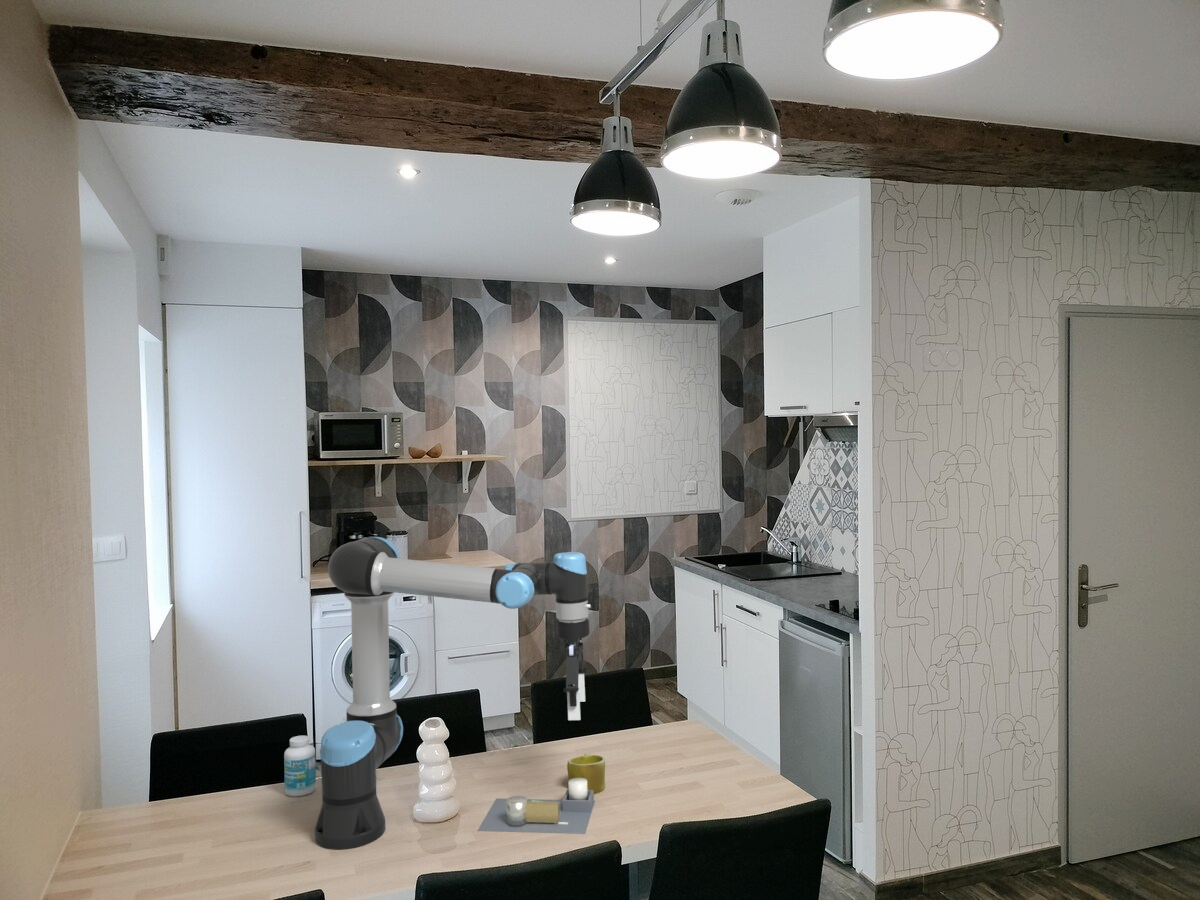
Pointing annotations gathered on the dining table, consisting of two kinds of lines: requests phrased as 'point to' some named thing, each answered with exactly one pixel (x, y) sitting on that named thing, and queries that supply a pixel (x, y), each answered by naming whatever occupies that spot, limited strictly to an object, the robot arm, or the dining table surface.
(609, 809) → the dining table surface
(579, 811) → the board
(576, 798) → the button
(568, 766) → the mug
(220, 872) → the dining table surface
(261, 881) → the dining table surface
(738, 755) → the dining table surface
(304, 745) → the pill bottle
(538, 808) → the grey and tan piece
